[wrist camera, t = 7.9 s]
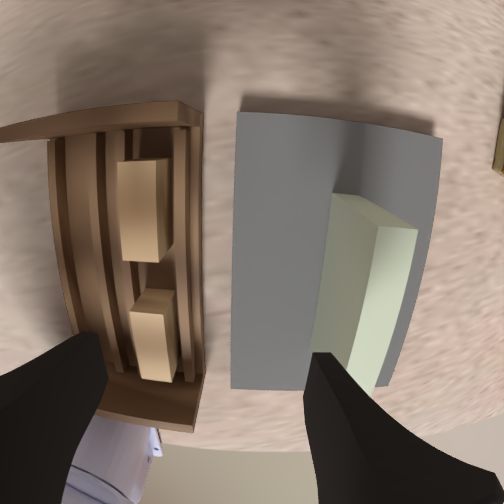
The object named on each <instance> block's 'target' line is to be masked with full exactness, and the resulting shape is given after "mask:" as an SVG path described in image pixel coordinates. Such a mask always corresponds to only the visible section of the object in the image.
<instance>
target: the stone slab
mask: <svg viewBox="0 0 504 504" xmlns="http://www.w3.org/2000/svg"><path fill="white" fill-rule="evenodd" d="M493 170H494V171H496V172H497V173H499V174H501V175H502V176H503V177H504V118H503V119H502V121H501V124H500V128H499V134H498V140H497V146H496V153H495V161H494V166H493Z"/></svg>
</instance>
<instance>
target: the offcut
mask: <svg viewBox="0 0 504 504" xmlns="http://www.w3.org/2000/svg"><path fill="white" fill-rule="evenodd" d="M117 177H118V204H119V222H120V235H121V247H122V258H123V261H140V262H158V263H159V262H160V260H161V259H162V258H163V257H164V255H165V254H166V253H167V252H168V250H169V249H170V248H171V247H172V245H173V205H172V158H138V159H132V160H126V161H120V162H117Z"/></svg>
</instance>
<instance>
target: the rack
mask: <svg viewBox="0 0 504 504" xmlns="http://www.w3.org/2000/svg"><path fill="white" fill-rule="evenodd" d="M203 117H204V114H202V113H200V112H199V111H197V110H195V109H193V108H191V107H189V106H187V105H185V104H184V103H182V102H180V101H161V102H147V103H135V104H125V105H116V106H108V107H100V108H93V109H86V110H80V111H74V112H68V113H62V114H57V115H52V116H47V117H42V118H37V119H33V120H29V121H24V122H20V123H16V124H12V125H8V126H5V127H1V128H0V143H5V142H15V141H26V140H38V139H50V141H47V151H48V181H49V197H50V209H51V219H52V227H53V235H54V243H55V250H56V256H57V262H58V268H59V274H60V279H61V284H62V289H63V294H64V299H65V303H66V307H67V312H68V316H69V320H70V324H71V328H72V332H73V335H76V334H78V333H80V332H82V331H86V332H92V333H98V336H99V341H100V345H101V349H102V353H103V358H104V362H105V365H106V369H107V373H108V377H109V379H108V382H107V385H106V388H105V391H104V394H103V396H102V399H101V402H100V404H99V406H98V408H97V410H96V412H95V414H94V415H95V416H99V417H103V418H107V419H112V420H116V421H121V422H126V423H131V424H136V425H141V426H147V427H152V428H159V429H165V430H172V431H179V432H187V433H194V428H195V423H196V418H197V413H198V408H199V403H200V398H201V394H202V389H203V384H204V379H205V374H206V370H205V351H204V328H203V299H202V246H201V198H202V146H203ZM138 158H172V205H173V245H172V247H171V248H170V249H169V250H168V252H167V253H166V254H165V255H164V257H163V258H162V259H161V260H160V262H159V263H158V262H140V261H123V258H122V247H121V235H120V222H119V204H118V177H117V162H120V161H126V160H132V159H138ZM145 288H151V289H164V290H176V300H177V314H178V326H179V338H180V348H181V356H180V359H179V362H178V365H177V368H176V371H175V374H174V377H173V380H172V383H171V382H163V381H156V380H149V379H142V378H141V373H140V368H139V363H138V358H137V353H136V348H135V343H134V337H133V331H132V325H131V319H130V313H129V311H130V310H131V308H132V307H133V305H134V304H135V302H136V301H137V300H138V298H139V297H140V295H141V294H142V293H143V291H144V290H145Z"/></svg>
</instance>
